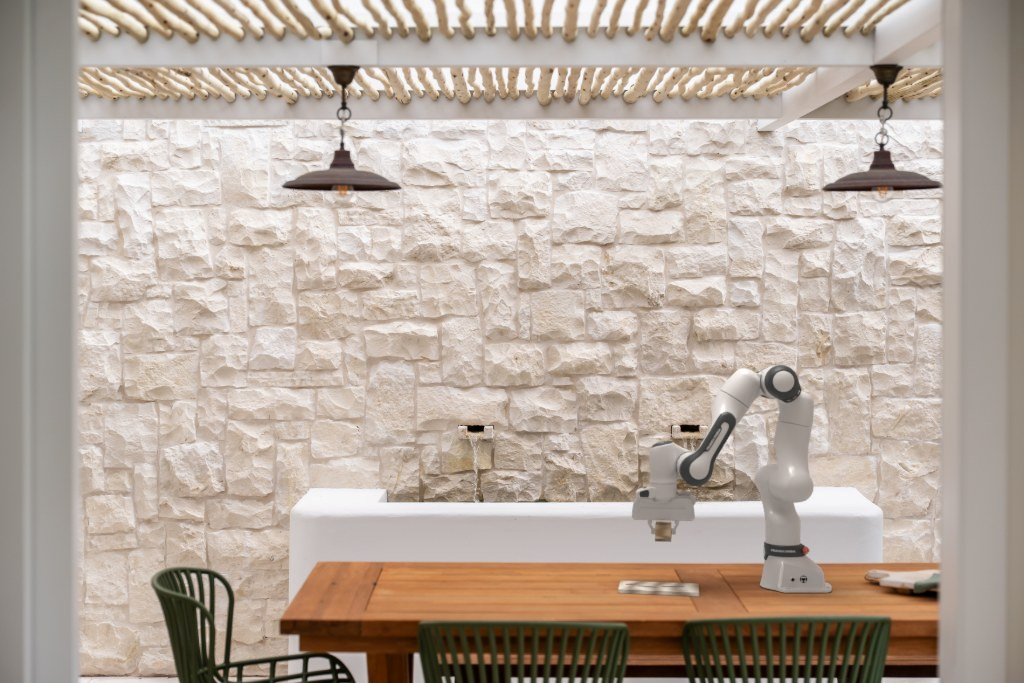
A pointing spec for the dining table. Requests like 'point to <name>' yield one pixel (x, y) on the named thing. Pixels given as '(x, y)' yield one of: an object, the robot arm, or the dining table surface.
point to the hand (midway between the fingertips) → (663, 534)
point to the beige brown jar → (663, 531)
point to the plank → (658, 588)
